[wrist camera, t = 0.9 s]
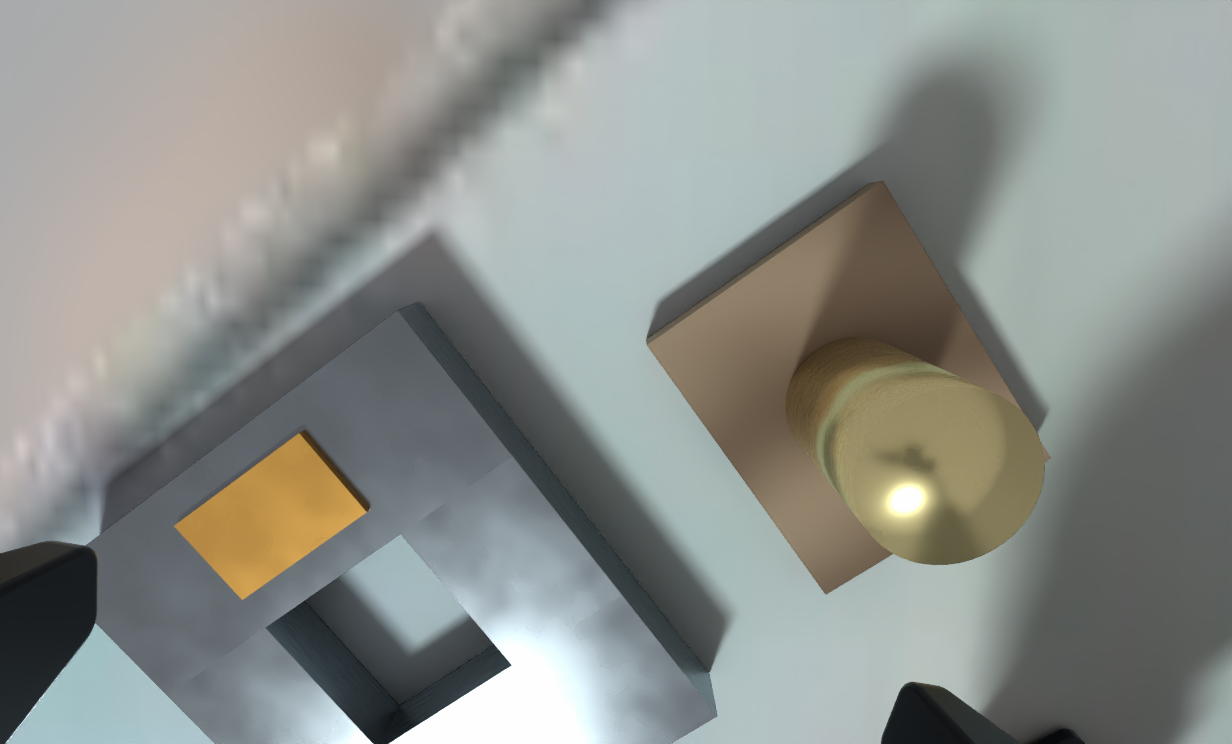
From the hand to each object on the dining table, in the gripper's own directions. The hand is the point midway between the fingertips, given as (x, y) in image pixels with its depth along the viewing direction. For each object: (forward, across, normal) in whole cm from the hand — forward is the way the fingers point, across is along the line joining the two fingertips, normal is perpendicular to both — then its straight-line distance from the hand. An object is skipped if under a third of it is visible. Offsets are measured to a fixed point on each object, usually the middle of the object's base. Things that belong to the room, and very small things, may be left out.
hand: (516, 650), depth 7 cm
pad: (+13, -9, -1) cm, 16 cm away
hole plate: (+14, +4, +10) cm, 17 cm away
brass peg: (+12, -9, -1) cm, 15 cm away
